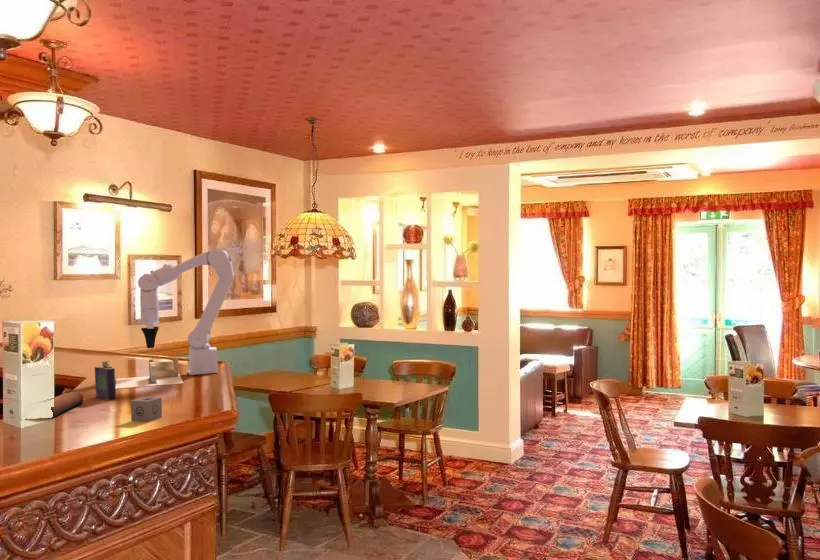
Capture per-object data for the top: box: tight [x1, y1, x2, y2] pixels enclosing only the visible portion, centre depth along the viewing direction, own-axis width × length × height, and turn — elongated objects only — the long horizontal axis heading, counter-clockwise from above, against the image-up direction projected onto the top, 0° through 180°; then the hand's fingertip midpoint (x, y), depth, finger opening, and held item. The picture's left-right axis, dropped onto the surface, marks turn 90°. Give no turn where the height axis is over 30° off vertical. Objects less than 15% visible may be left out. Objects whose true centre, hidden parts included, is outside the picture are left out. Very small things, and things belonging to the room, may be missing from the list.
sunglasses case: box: [51, 391, 84, 418], centre depth 178 cm, size 18×7×7 cm, turn 4°
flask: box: [94, 360, 117, 401], centre depth 195 cm, size 9×3×11 cm, turn 50°
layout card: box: [115, 373, 184, 390], centre depth 223 cm, size 20×20×1 cm
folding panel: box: [150, 361, 156, 382], centre depth 222 cm, size 10×1×5 cm, turn 24°
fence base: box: [148, 357, 179, 379], centre depth 229 cm, size 9×2×6 cm, turn 112°
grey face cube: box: [130, 396, 163, 423], centre depth 167 cm, size 5×5×5 cm
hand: (150, 348), depth 236 cm, fingers closed
